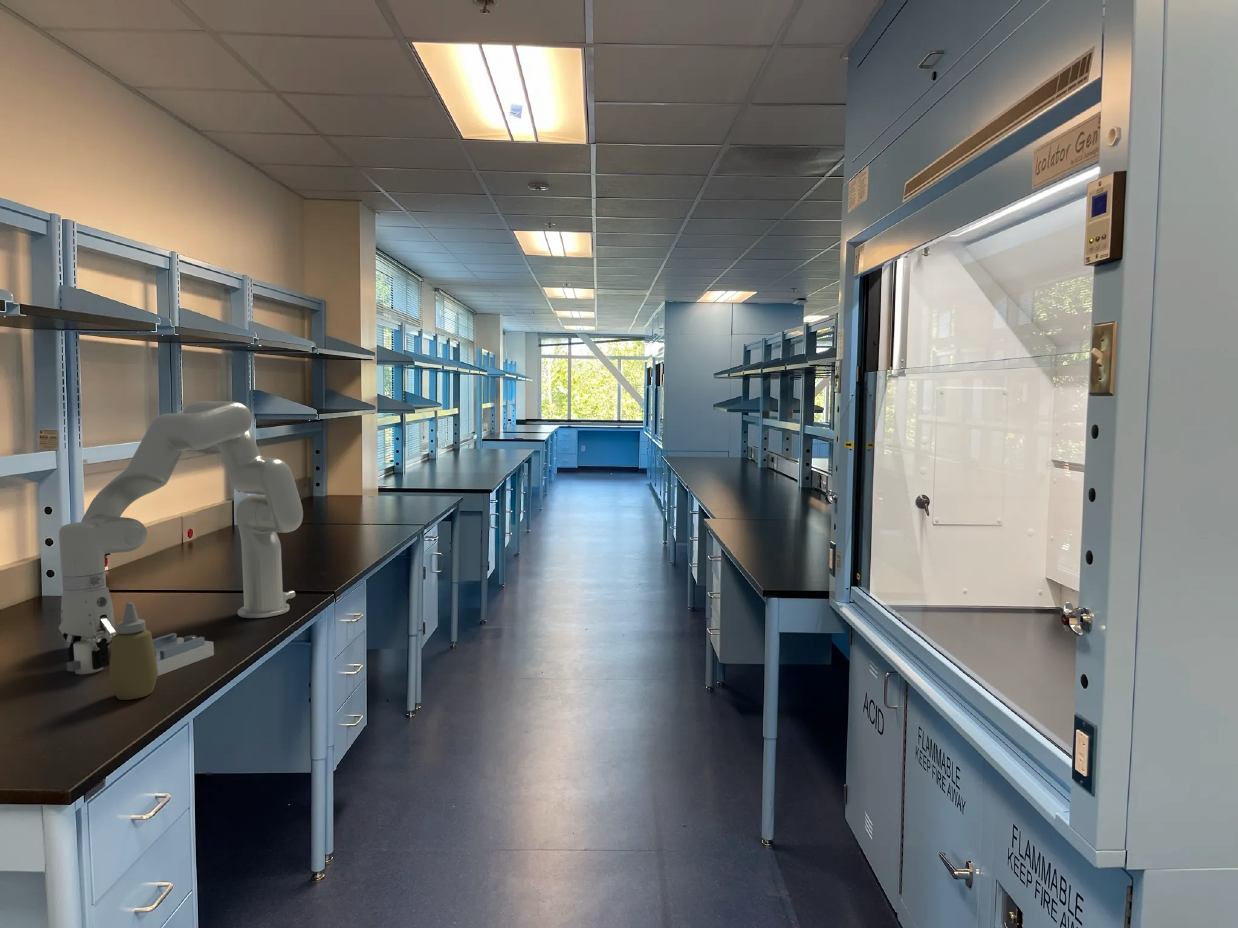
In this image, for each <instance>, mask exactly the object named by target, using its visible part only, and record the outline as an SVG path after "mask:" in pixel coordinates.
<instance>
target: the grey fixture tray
mask: <svg viewBox="0 0 1238 928" xmlns="http://www.w3.org/2000/svg"><path fill="white" fill-rule="evenodd" d="M177 635H178V633H174V632H172V633H168V634H165V635H163V636H159V637H157V638H152V640H153V646H154V652H155V657H156V663H157V669H158V676H157V677H159V676H162V675H164V674H167V673H170V672H172V671H175V670H178V669H180V668H183V667H187V666H189V665H190V664H193V663H197V662H199V661H202V660H205V659H208V658H210V657H212V656H214V655H215V650H214V649H215V647H214V641H209V640H205V637H204V636H199V637H198V636H197V635H193V634H192V635H187V636H184V637H180V636H179V637H178V636H177Z"/></svg>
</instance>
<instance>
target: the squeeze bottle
mask: <svg viewBox="0 0 1238 928" xmlns="http://www.w3.org/2000/svg"><path fill="white" fill-rule="evenodd" d="M158 677H159V676H158V669H157V663H156V657H155V652H154V646H153V635H152V631H150V630H148V629H146V619H143V618H139V616H138V613H137V610H136V607H135V603H134V602H128V603H126V604H125V608H124V614H123V619H122V621H119V622H117V623H116V635H115V636H113V637H112V642H111V643H110V659H109V678H108V679H109V684H110V686H111V688H112V690H113V692H114V694H115V696H116V698H117V699H118V700H123V701H124V700H125V701H128V700H136V699H141V698H143V697H147V696H149V695H151V694H152V693H153V691H154V688H155V685H156V682H157V679H158Z"/></svg>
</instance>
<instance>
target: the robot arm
mask: <svg viewBox="0 0 1238 928" xmlns="http://www.w3.org/2000/svg"><path fill="white" fill-rule="evenodd" d="M182 412H183V413H175V412H174V413H163V414H160V415H157V417H155V418H154V419H153V420H152V422H151V423H150V425H149V426H148V428H147V430H146V431H145V434H144V436H143V437H142V439H141V441H140V443H139V444H138V446H137V449H136V451H135V452H134V454H133V456H132V458H131V460H130V461H129V464H128V465H127V467H126V468H125V469H124V470H123V471H122V472H121V473H120V474H118V475H117V476H115V477H114V478H113V479H112V480H111V481H110V482H109V483H108V484H107V485H105V487H103V488H102V489H101V490H100V491H99V492H98V493H97V494H96V495H95V497H94V498H93V499H92V500H91V502H90V504H89V506H88V508H87V509H86V511H85V513H84V515H83V517H82V519H81V521H80V522H73V523H72V522H71V523H67V524H64V525H62V526H61V527H60V528H59V530H58V538H59V539H58V540H59V554H60V555H59V557H60V558H59V559H60V571H61V572H60V573H61V585H62V586H61V587H62V588H61V590H62V593H61V600H60V601H61V603H60V619H61V623H60V624H59V625H58V630H59V631H60V632H61V634H62V636H63V639H64V640H65V641H66V642H65V645H66V647H67V650H68V662H71V661H74V647H73V644H74V643H76V642H78V641H82V640H83V638H84V637H89V638H90V640H91V642H92V645H93V648H94V650H93V651H92V667H93V669H95V670H96V669H99V668H102V667H104V668H105V667H107V666H110V658H109V657H110V656H109V648H111V643H112V637H113V636H115V635H116V634H117V630H115V629H116V627H115V624H116V623H115V615H114V614H115V613H114V608H113V607H114V606H113V600H112V598H111V593H110V590H109V588H108V587H109V586H107V577H106V563H105V561H106V560H105V556H106V554H116V553H119V554H120V553H130V552H133V551H135V550H138V549H139V548H140V547H141V546H143V545H144V543H145V542H146V540H147V537H148V530H147V527H146V526H145V525H144V524H143V522H141V521H140V520H139V519H135V518H130V517H126V516H122V514H123V513H124V512H125V511H126V510H127V508H129V506H130V505H132V504H133V503H134V502H135V501H137V500H138V499H140V498H141V497H144V496H147V495H148V494H151V493H154V492H155V491H157V490H160V489H161V488H162V487H164V486H166V485H167V484H168V482H169V480H170V478H171V476H172V475H173V472H174V470H175V468H176V466H177V465H178V463H179V460H180V459H181V456H182V455H183V453H184V452H185V451H201V450H202V451H203V450H205V449H210V448H212V447H215V446H217V448H218V450H219V452H220V455H221V457H222V460H223V463H224V465H225V469H226V472H227V474H228V478H229V480H230V483H231V487H232V488H233V489H234V490H235V491H237V492H238V493H241V494H250V495H247V496H245V497H244V498H242V499H241V500H240V502H238V504H237V506H236V508H235V519H236V524H237V528H238V531H239V535H240V536H239V537H240V542H241V543H240V544H241V564H242V565H241V566H242V567H241V568H242V587H243V588H242V589H243V606H242V607H240V608H239V609H238V610H237V615H238V616H239V617H241V618H245V619H262V618H271V617H275V616H276V617H277V616H279V615H283V614H286V613H287V612H289V610H290V604H289V603H287V600H288V599H289V600H290V599H292V598H294V597H296V592H295V591H294V590H289V591H283V569H282V568H283V566H282V546H281V541H280V538H279V536H278V533H284V534H286V533H291V532H294V531H296V530H297V529H298V528H299V527H300V526H301V525H302V523H303V520H304V519H303V518H304V510H303V504H302V502H301V501H302V500H301V497H300V494H299V491H298V487H297V484H296V480H295V477H294V474H293V471H292V469H291V468H290V466H289V465H288V464H287V463H286V462H285V461H284V460H282V459H280V458H276V457H264V456H262V455H261V452H260V450H259V448H258V445H257V442H256V439H255V437H254V435H253V433H252V431H251V430H250V428H251V426H252V420H253V418H252V413H251V411H250V409H249V408H248V407H247V406H246V405H244V404H243V403H241V402H238V401H229V400H228V401H227V400H225V401H220V400H218V401H217V400H216V401H213V400H204V401H203V400H201V401H194V402H192V403H190V404H188V405H186V406H185V407H184V409H183V411H182ZM97 639H101V640H100V642H99V643H98V640H97Z"/></svg>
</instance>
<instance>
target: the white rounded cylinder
mask: <svg viewBox="0 0 1238 928" xmlns="http://www.w3.org/2000/svg"><path fill="white" fill-rule="evenodd" d="M97 640H98V643H99V642H100V640H101V638H97ZM73 647H74V661H71V662H69V661H68V662H66V671H67V672H74V673H75V675H87V674H88V675H89V674H93V673H94V674H95V673H97V672H100V671H103V670H104V669H105V667H102V668H99V669H96V670H95V669H93V667H92V651H93V650H94V648H93V645H92V642H91V640H90V639H86V640H82V641H78V642H76V643H74V644H73Z"/></svg>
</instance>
